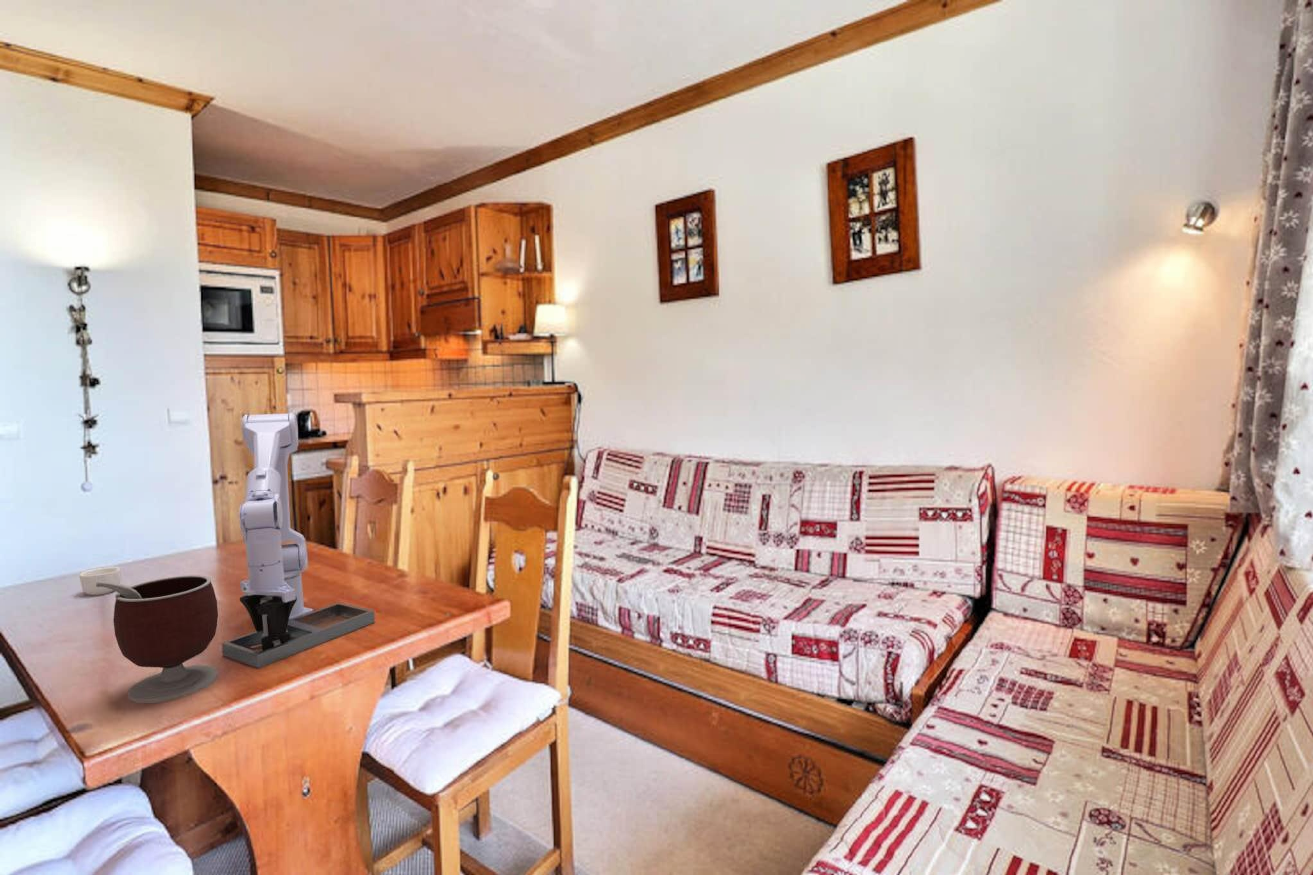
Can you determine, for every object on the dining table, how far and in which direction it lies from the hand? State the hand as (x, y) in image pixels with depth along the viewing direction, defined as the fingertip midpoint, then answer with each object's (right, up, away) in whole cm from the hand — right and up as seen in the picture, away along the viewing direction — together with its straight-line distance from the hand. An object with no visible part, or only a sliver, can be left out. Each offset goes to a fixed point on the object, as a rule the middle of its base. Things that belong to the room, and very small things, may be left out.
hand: (271, 632), depth 124 cm
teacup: (-65, -2, +38) cm, 75 cm away
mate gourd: (-9, -5, -14) cm, 17 cm away
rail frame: (+3, -3, +6) cm, 7 cm away
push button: (0, -4, 0) cm, 4 cm away
